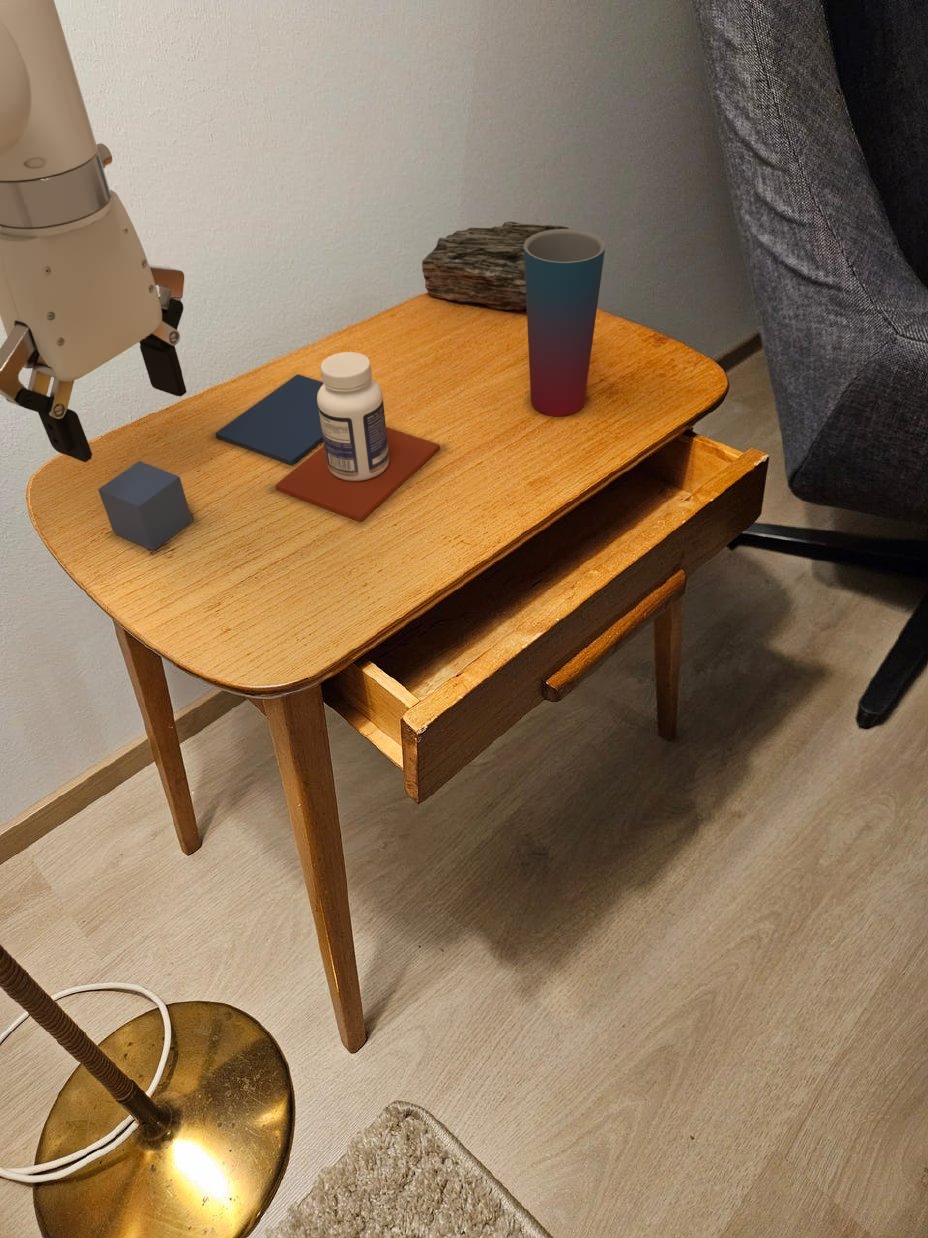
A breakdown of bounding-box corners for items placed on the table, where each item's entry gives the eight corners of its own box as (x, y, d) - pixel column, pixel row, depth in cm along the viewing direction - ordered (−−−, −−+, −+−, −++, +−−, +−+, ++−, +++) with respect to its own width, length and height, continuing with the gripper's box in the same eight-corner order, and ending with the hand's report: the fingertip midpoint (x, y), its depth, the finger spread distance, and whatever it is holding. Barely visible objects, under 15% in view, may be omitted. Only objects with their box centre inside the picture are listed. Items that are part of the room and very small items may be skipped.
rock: (464, 263, 114) (460, 210, 110) (590, 278, 109) (591, 223, 104) (420, 305, 106) (414, 250, 102) (553, 324, 101) (553, 267, 97)
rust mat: (360, 522, 79) (360, 517, 78) (275, 489, 82) (274, 485, 82) (440, 449, 86) (439, 444, 85) (358, 422, 89) (358, 417, 89)
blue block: (153, 551, 77) (138, 506, 73) (113, 534, 78) (97, 489, 75) (192, 520, 79) (180, 476, 76) (153, 504, 81) (139, 460, 78)
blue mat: (292, 465, 85) (291, 460, 84) (215, 437, 88) (214, 433, 88) (371, 401, 92) (371, 397, 91) (298, 378, 95) (297, 373, 95)
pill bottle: (380, 442, 86) (370, 341, 79) (396, 475, 82) (387, 373, 75) (321, 454, 85) (305, 353, 78) (335, 488, 81) (319, 386, 74)
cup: (511, 390, 92) (512, 235, 82) (577, 378, 94) (586, 223, 83) (536, 427, 88) (540, 267, 77) (605, 413, 89) (618, 254, 79)
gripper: (106, 135, 67) (169, 357, 79) (-112, 230, 57) (-2, 468, 69) (185, 152, 64) (238, 380, 76) (-30, 256, 54) (71, 499, 66)
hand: (124, 421), depth 72 cm, fingers open, 9 cm apart
